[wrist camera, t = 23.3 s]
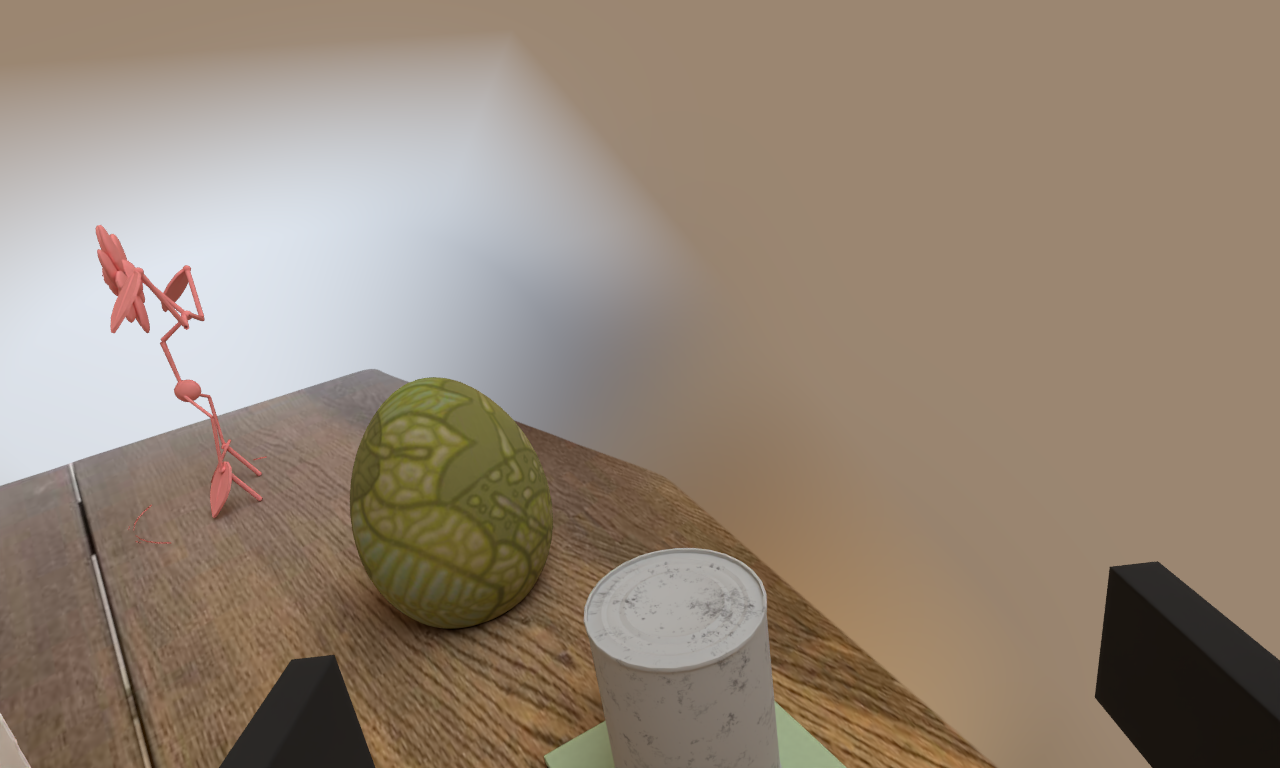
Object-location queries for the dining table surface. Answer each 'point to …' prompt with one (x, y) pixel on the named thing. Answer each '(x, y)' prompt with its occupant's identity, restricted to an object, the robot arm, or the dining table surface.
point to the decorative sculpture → (449, 505)
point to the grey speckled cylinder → (684, 662)
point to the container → (10, 749)
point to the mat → (802, 757)
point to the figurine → (130, 305)
